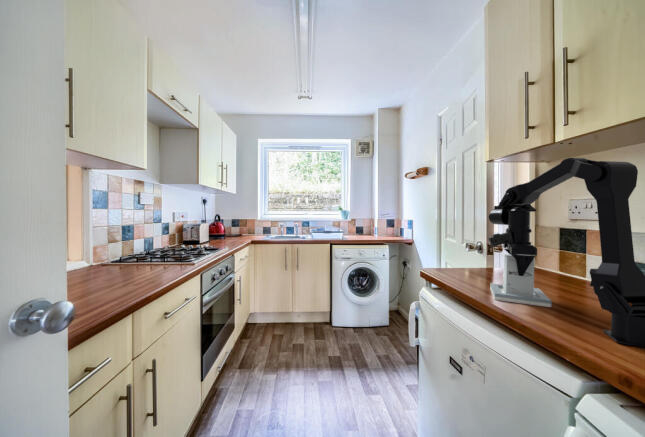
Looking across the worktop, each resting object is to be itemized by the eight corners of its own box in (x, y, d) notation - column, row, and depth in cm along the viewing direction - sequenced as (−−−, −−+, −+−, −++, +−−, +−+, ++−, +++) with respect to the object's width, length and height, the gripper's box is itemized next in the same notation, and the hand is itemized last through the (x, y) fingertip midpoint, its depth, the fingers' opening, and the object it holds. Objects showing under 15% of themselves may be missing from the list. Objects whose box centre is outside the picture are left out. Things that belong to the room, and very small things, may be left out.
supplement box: (505, 295, 85) (506, 256, 84) (502, 289, 91) (503, 253, 91) (534, 298, 81) (535, 258, 81) (529, 292, 87) (529, 255, 87)
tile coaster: (551, 307, 77) (551, 300, 77) (494, 299, 83) (494, 293, 83) (538, 294, 89) (538, 288, 89) (490, 288, 96) (490, 283, 95)
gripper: (487, 224, 98) (486, 265, 98) (492, 226, 81) (491, 276, 81) (524, 224, 92) (523, 268, 93) (538, 227, 76) (537, 280, 76)
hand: (517, 272), depth 86 cm, fingers open, 9 cm apart
